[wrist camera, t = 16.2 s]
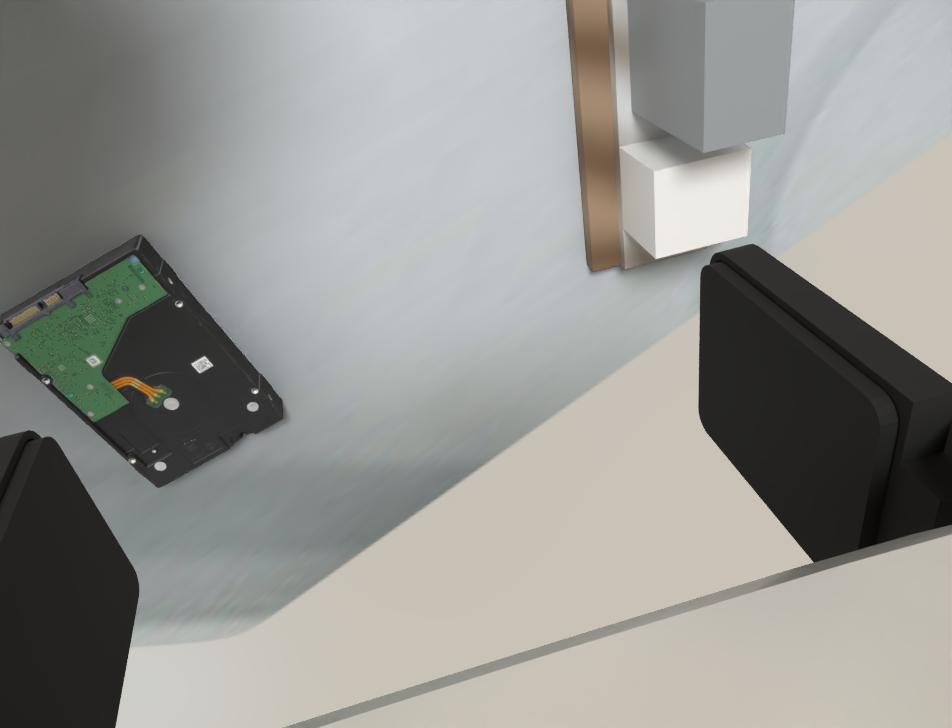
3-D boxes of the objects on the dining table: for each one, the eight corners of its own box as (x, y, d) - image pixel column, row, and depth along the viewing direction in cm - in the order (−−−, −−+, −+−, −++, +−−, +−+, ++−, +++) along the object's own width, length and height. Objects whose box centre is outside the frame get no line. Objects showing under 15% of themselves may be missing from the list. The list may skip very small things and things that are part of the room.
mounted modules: (603, -179, 37) (645, -188, 33) (720, -201, 38) (776, -212, 34) (623, 228, 49) (655, 259, 45) (711, 206, 50) (751, 234, 46)
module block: (626, -17, 41) (705, 2, 34) (705, -33, 42) (800, -18, 35) (631, 111, 45) (703, 153, 38) (703, 94, 46) (788, 132, 38)
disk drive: (286, 394, 53) (140, 227, 45) (287, 417, 51) (133, 246, 42) (163, 466, 54) (-4, 314, 45) (158, 491, 51) (-18, 337, 43)
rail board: (546, -243, 37) (559, -249, 35) (733, -275, 38) (754, -283, 36) (586, 264, 52) (597, 276, 51) (718, 230, 54) (733, 241, 52)
